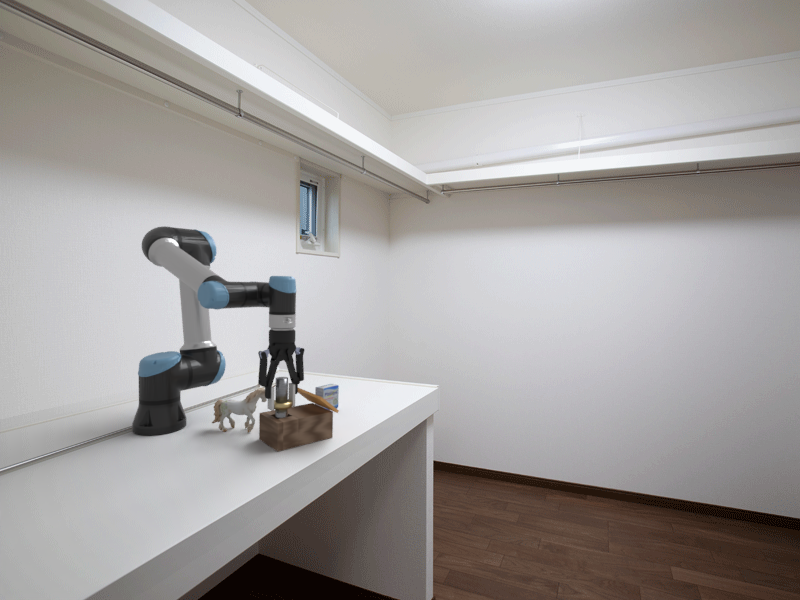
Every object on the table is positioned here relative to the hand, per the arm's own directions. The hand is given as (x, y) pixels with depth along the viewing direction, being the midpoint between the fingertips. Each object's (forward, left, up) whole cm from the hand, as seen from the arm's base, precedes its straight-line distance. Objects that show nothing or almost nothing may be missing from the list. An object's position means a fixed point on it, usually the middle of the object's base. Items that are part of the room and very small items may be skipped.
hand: (281, 407), depth 130 cm
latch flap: (+11, 0, 0) cm, 11 cm away
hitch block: (+5, 0, -10) cm, 12 cm away
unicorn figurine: (-3, +19, -11) cm, 22 cm away
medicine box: (+29, +21, -11) cm, 37 cm away
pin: (0, 0, -7) cm, 7 cm away
